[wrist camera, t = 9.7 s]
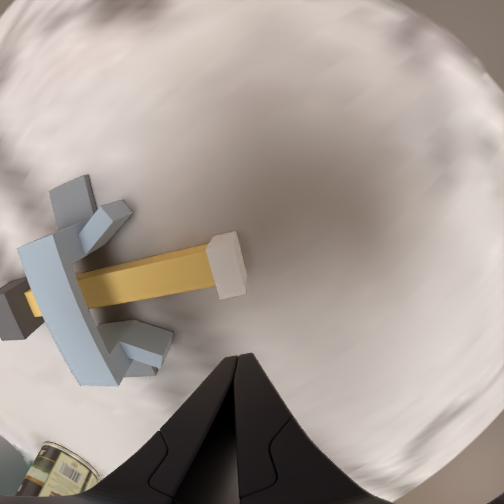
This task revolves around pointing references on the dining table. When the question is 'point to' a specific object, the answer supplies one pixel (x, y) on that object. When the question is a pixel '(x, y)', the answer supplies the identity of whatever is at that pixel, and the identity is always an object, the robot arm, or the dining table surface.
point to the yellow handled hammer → (136, 282)
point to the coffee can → (57, 474)
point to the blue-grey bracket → (72, 301)
